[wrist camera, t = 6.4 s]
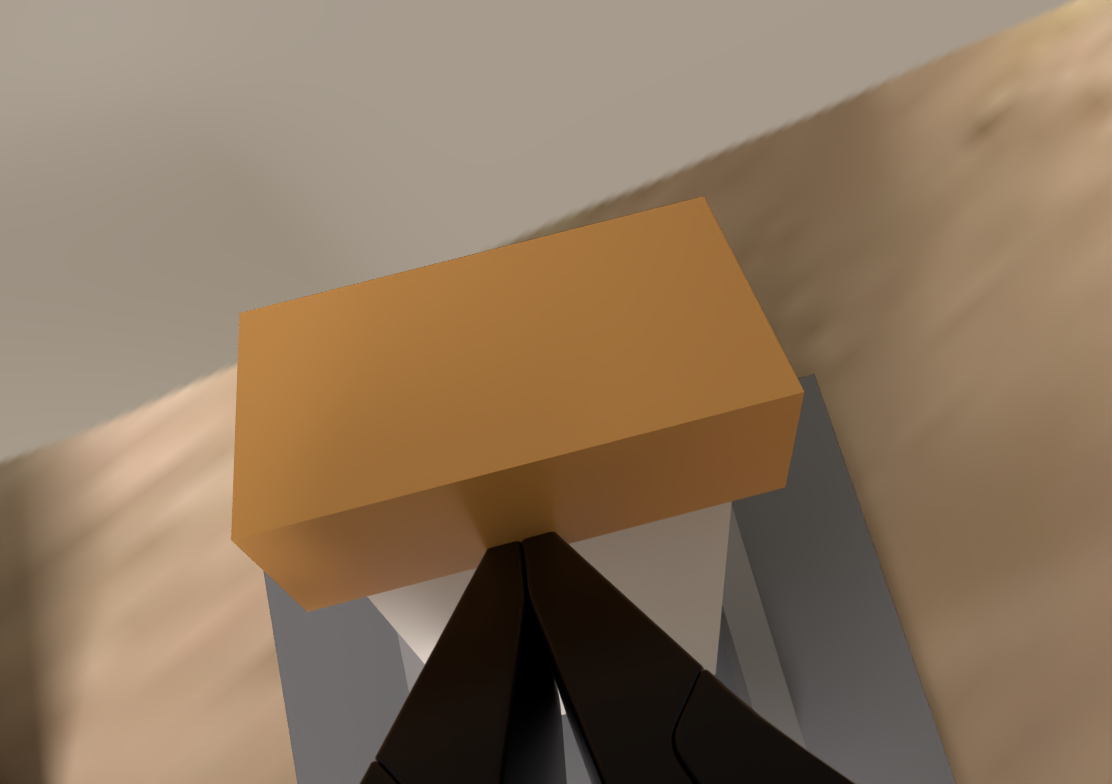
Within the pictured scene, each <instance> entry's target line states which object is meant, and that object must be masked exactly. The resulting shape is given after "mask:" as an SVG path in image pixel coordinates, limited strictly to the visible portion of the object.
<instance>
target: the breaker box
mask: <svg viewBox="0 0 1112 784" xmlns="http://www.w3.org/2000/svg"><path fill="white" fill-rule="evenodd" d="M798 380H799V382H800V384H801V386H802V388H803V390H804V397H803V402H802V407H801V412H800V417H799V422H798V427H797V432H796V437H795V442H794V447H793V451H792V456H791V461H790V466H789V471H788V476H787V481H786V486H785V488H781V489H777V490H773V491H770V492H766V493H762V494H758V495H754V496H750V497H747V498H743V499H739V500H735V501H732V504H731V515H730V525H729V536H728V547H727V558H726V568H725V579H724V590H723V601H722V611H721V622H720V633H719V643H718V654H717V665H716V674H715V675H714V676H715V677H716V678H718V679H719V680H720V681H721V682H722V683H723V684H724V685H725V686H726V687H727V688H729V689H730V690H731V691H732V692H733V693H734V694H736V695H737V696H738V697H739V698H740V699H741V700H743V701H744V702H745V703H746V704H747V705H749V706H750V707H751V708H752V709H753V710H755V711H756V712H757V713H758V714H759V715H760V716H762V717H763V718H764V719H765V720H767V721H768V722H770V723H771V724H772V725H774V726H775V727H776V728H778V729H779V730H780V731H782V732H783V733H784V734H786V735H787V736H789V737H790V738H791V739H793V740H794V741H795V742H797V743H798V744H799V745H801V746H802V747H804V748H805V749H806V750H808V751H809V752H811V753H812V754H814V755H815V756H816V757H818V758H819V759H821V760H822V761H824V762H825V763H827V764H828V765H829V766H831V767H832V768H834V769H835V770H837V771H838V772H840V773H841V774H842V775H844V776H845V777H847V778H848V779H850V780H851V781H853V782H854V783H855V784H956V782H955V779H954V777H953V774H952V771H951V768H950V765H949V762H948V759H947V756H946V753H945V751H944V748H943V745H942V742H941V739H940V736H939V733H938V730H937V727H936V725H935V722H934V719H933V716H932V713H931V710H930V707H929V704H928V701H927V699H926V696H925V693H924V690H923V687H922V684H921V681H920V678H919V675H918V672H917V670H916V667H915V664H914V661H913V658H912V655H911V652H910V649H909V646H908V644H907V641H906V638H905V635H904V632H903V629H902V626H901V623H900V620H899V618H898V615H897V612H896V609H895V606H894V603H893V600H892V597H891V594H890V591H889V589H888V586H887V583H886V580H885V577H884V574H883V571H882V568H881V565H880V563H879V560H878V557H877V554H876V551H875V548H874V545H873V542H872V539H871V537H870V534H869V531H868V528H867V525H866V522H865V519H864V516H863V513H862V510H861V508H860V505H859V502H858V499H857V496H856V493H855V490H854V487H853V484H852V482H851V479H850V476H849V473H848V470H847V467H846V464H845V461H844V458H843V456H842V453H841V450H840V447H839V444H838V441H837V438H836V435H835V432H834V429H833V427H832V424H831V421H830V418H829V415H828V412H827V409H826V406H825V403H824V401H823V398H822V395H821V392H820V389H819V386H818V383H817V380H816V377H815V375H814V374H813V375H809V376H805V377H801V378H798ZM264 577H265V583H266V590H267V596H268V602H269V608H270V615H271V621H272V627H273V633H274V640H275V646H276V652H277V658H278V665H279V671H280V677H281V683H282V689H283V696H284V702H285V708H286V714H287V721H288V727H289V733H290V739H291V746H292V752H293V758H294V764H295V771H296V777H297V783H298V784H359V783H360V782H361V780H362V778H363V776H364V774H365V772H366V770H367V769H368V767H369V765H370V763H371V762H373V761H376V760H375V756H376V754H377V752H378V750H379V749H380V747H381V745H382V743H383V741H384V739H385V737H386V736H387V734H388V732H389V730H390V728H391V726H392V724H393V723H394V721H395V719H396V717H397V715H398V713H399V711H400V710H401V708H402V706H403V704H404V702H405V700H406V698H407V697H408V695H409V693H410V691H411V689H412V687H413V686H414V684H415V682H416V680H417V678H418V676H419V674H420V673H421V671H422V669H423V667H424V665H425V664H424V663H423V662H422V660H421V659H420V658H419V657H418V656H417V655H416V653H415V652H414V651H413V650H412V649H411V647H410V646H409V645H408V644H407V643H406V642H405V640H404V639H403V638H402V637H401V636H400V635H399V633H398V632H397V631H396V630H395V629H394V628H393V626H392V625H391V624H390V623H389V622H388V620H387V619H386V618H385V617H384V616H383V615H382V613H381V612H380V611H379V610H378V609H377V608H376V606H375V605H374V604H373V603H372V602H371V601H370V599H369V598H368V597H363V598H359V599H355V600H352V601H348V602H344V603H340V604H336V605H332V606H329V607H325V608H321V609H317V610H313V611H309V612H307V611H306V610H305V609H304V608H302V607H301V606H300V605H299V604H298V603H297V602H296V601H295V600H294V599H293V598H292V597H291V596H290V595H289V594H288V593H287V592H286V591H285V590H283V589H282V588H281V587H280V586H279V585H278V584H277V583H276V582H275V581H274V580H273V579H272V578H271V577H270V576H269V575H268V574H267V573H266V572H265V571H264ZM562 725H563V739H564V752H565V765H566V779H567V784H591V781H590V778H589V776H588V773H587V770H586V767H585V765H584V762H583V759H582V756H581V754H580V751H579V748H578V745H577V743H576V740H575V737H574V735H573V732H572V729H571V726H570V724H569V721H568V718H567V715H566V714H564V715H562Z"/></svg>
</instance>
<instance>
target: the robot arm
mask: <svg viewBox="0 0 1112 784" xmlns="http://www.w3.org/2000/svg"><path fill="white" fill-rule="evenodd" d="M558 691H559V693H558ZM559 694H560V697H561V700H562V703H563V706H564V709H565V712H566V715H567V718H568V721H569V724H570V726H571V729H572V732H573V735H574V737H575V740H576V743H577V745H578V748H579V751H580V754H581V756H582V759H583V762H584V765H585V767H586V770H587V773H588V776H589V778H590V781H591V784H855V783H854V782H853V781H851V780H850V779H848V778H847V777H845V776H844V775H842V774H841V773H840V772H838V771H837V770H835V769H834V768H832V767H831V766H829V765H828V764H827V763H825V762H824V761H822V760H821V759H819V758H818V757H816V756H815V755H814V754H812V753H811V752H809V751H808V750H806V749H805V748H804V747H802V746H801V745H799V744H798V743H797V742H795V741H794V740H793V739H791V738H790V737H789V736H787V735H786V734H784V733H783V732H782V731H780V730H779V729H778V728H776V727H775V726H774V725H772V724H771V723H770V722H768V721H767V720H765V719H764V718H763V717H762V716H760V715H759V714H758V713H757V712H756V711H755V710H753V709H752V708H751V707H750V706H749V705H747V704H746V703H745V702H744V701H743V700H741V699H740V698H739V697H738V696H737V695H736V694H734V693H733V692H732V691H731V690H730V689H729V688H727V687H726V686H725V685H724V684H723V683H722V682H721V681H720V680H719V679H718V678H716V677H715V676H714V675H713V674H712V673H711V672H710V671H709V670H704V667H703V666H702V665H701V664H700V663H699V662H698V661H696V660H695V659H694V658H693V657H692V656H691V655H690V654H689V653H688V652H687V651H686V650H684V649H683V648H682V647H681V646H680V645H679V644H678V643H677V642H676V641H675V640H673V639H672V638H671V637H670V636H669V635H668V634H667V633H666V632H665V631H664V630H662V629H661V628H660V627H659V626H658V625H657V624H656V623H655V622H654V621H653V620H651V619H650V618H649V617H648V616H647V615H646V614H645V613H644V612H643V611H642V610H640V609H639V608H638V607H637V606H636V605H635V604H634V603H633V602H632V601H631V600H629V599H628V598H627V597H626V596H625V595H624V594H623V593H622V592H621V591H620V590H619V589H617V588H616V587H615V586H614V585H613V584H612V583H611V582H610V581H609V580H608V579H606V578H605V577H604V576H603V575H602V574H601V573H600V572H599V571H598V570H597V569H595V568H594V567H593V566H592V565H591V564H590V563H589V562H588V561H587V560H586V559H584V558H583V557H582V556H581V555H580V554H579V553H578V552H577V551H576V550H575V549H573V548H572V547H571V546H570V545H569V544H568V543H567V542H566V541H565V540H564V539H562V538H561V537H560V536H559V535H558V534H557V533H556V532H548V533H544V534H540V535H537V536H533V537H529V538H526V539H524V540H523V541H522V544H521V543H520V542H518V541H514V542H510V543H507V544H503V545H499V546H495V547H491V548H488V549H487V550H486V552H485V554H484V556H483V558H482V559H481V561H480V563H479V565H478V567H477V569H476V571H475V572H474V574H473V576H472V578H471V580H470V582H469V584H468V585H467V587H466V589H465V591H464V593H463V595H462V597H461V598H460V600H459V602H458V604H457V606H456V608H455V609H454V611H453V613H452V615H451V617H450V619H449V621H448V622H447V624H446V626H445V628H444V630H443V632H442V634H441V635H440V637H439V639H438V641H437V643H436V645H435V647H434V648H433V650H432V652H431V654H430V656H429V658H428V660H427V661H426V663H425V665H424V667H423V669H422V671H421V673H420V674H419V676H418V678H417V680H416V682H415V684H414V686H413V687H412V689H411V691H410V693H409V695H408V697H407V698H406V700H405V702H404V704H403V706H402V708H401V710H400V711H399V713H398V715H397V717H396V719H395V721H394V723H393V724H392V726H391V728H390V730H389V732H388V734H387V736H386V737H385V739H384V741H383V743H382V745H381V747H380V749H379V750H378V752H377V754H376V756H375V760H376V761H373V762H371V763H370V765H369V767H368V769H367V770H366V772H365V774H364V776H363V778H362V780H361V782H360V783H359V784H567V779H566V765H565V752H564V739H563V725H562V714H561V705H560V698H559Z"/></svg>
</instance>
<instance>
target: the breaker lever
mask: <svg viewBox="0 0 1112 784" xmlns="http://www.w3.org/2000/svg"><path fill="white" fill-rule="evenodd" d="M803 397H804V390H803V388H802V386H801V384H800V382H799V380H798V378H797V377H796V375H795V373H794V371H793V369H792V367H791V365H790V363H789V361H788V359H787V357H786V355H785V353H784V351H783V349H782V347H781V345H780V343H779V342H778V340H777V338H776V336H775V334H774V332H773V330H772V328H771V326H770V324H769V322H768V320H767V318H766V316H765V314H764V312H763V310H762V309H761V307H760V305H759V303H758V301H757V299H756V297H755V295H754V293H753V291H752V289H751V287H750V285H749V283H748V281H747V279H746V277H745V275H744V274H743V272H742V270H741V268H740V266H739V264H738V262H737V260H736V258H735V256H734V254H733V252H732V250H731V248H730V246H729V244H728V242H727V240H726V239H725V237H724V235H723V233H722V231H721V229H720V227H719V225H718V223H717V221H716V219H715V217H714V215H713V213H712V211H711V209H710V207H709V206H708V204H707V202H706V200H705V198H704V196H702V197H698V198H694V199H690V200H686V201H682V202H678V203H674V204H670V205H667V206H663V207H659V208H655V209H651V210H647V211H643V212H639V213H635V214H631V215H627V216H623V217H619V218H615V219H611V220H607V221H603V222H599V223H595V224H591V225H587V226H583V227H579V228H575V229H571V230H567V231H563V232H559V233H556V234H552V235H548V236H544V237H540V238H536V239H532V240H528V241H524V242H520V243H516V244H512V245H508V246H504V247H500V248H496V249H492V250H488V251H484V252H480V253H476V254H472V255H468V256H464V257H460V258H457V259H452V260H448V261H444V262H441V263H437V264H433V265H429V266H425V267H421V268H417V269H413V270H409V271H405V272H401V273H397V274H393V275H389V276H385V277H381V278H377V279H373V280H369V281H365V282H361V283H357V284H353V285H349V286H345V287H341V288H337V289H334V290H330V291H326V292H322V293H318V294H314V295H310V296H306V297H302V298H298V299H294V300H290V301H286V302H282V303H278V304H274V305H270V306H267V307H262V308H258V309H254V310H250V311H246V312H243V313H240V318H239V344H238V371H237V399H236V426H235V453H234V480H233V508H232V535H231V540H232V541H233V542H234V543H235V544H236V545H237V546H238V547H239V548H240V549H241V550H242V551H243V552H244V553H246V554H247V555H248V556H249V557H250V558H251V559H252V560H253V561H254V562H255V563H256V564H257V565H258V566H259V567H260V568H261V569H262V570H263V571H265V572H266V573H267V574H268V575H269V576H270V577H271V578H272V579H273V580H274V581H275V582H276V583H277V584H278V585H279V586H280V587H281V588H282V589H283V590H285V591H286V592H287V593H288V594H289V595H290V596H291V597H292V598H293V599H294V600H295V601H296V602H297V603H298V604H299V605H300V606H301V607H302V608H304V609H305V610H306V611H307V612H309V611H313V610H317V609H321V608H325V607H329V606H332V605H336V604H340V603H344V602H348V601H352V600H355V599H359V598H363V597H368V598H369V599H370V601H371V602H372V603H373V604H374V605H375V606H376V608H377V609H378V610H379V611H380V612H381V613H382V615H383V616H384V617H385V618H386V619H387V620H388V622H389V623H390V624H391V625H392V626H393V628H394V629H395V630H396V631H397V632H398V633H399V635H400V636H401V637H402V638H403V639H404V640H405V642H406V643H407V644H408V645H409V646H410V647H411V649H412V650H413V651H414V652H415V653H416V655H417V656H418V657H419V658H420V659H421V660H422V662H423V663H424V664H425V663H426V661H427V660H428V658H429V656H430V654H431V652H432V650H433V648H434V647H435V645H436V643H437V641H438V639H439V637H440V635H441V634H442V632H443V630H444V628H445V626H446V624H447V622H448V621H449V619H450V617H451V615H452V613H453V611H454V609H455V608H456V606H457V604H458V602H459V600H460V598H461V597H462V595H463V593H464V591H465V589H466V587H467V585H468V584H469V582H470V580H471V578H472V576H473V574H474V572H475V571H476V569H477V567H478V565H479V563H480V561H481V559H482V558H483V556H484V554H485V552H486V550H487V549H488V548H491V547H495V546H499V545H503V544H507V543H510V542H514V541H518V542H520V543H521V544H522V541H523V540H524V539H526V538H529V537H533V536H537V535H540V534H544V533H548V532H556V533H557V534H558V535H559V536H560V537H561V538H562V539H564V540H565V541H566V542H567V543H568V544H569V545H570V546H571V547H572V548H573V549H575V550H576V551H577V552H578V553H579V554H580V555H581V556H582V557H583V558H584V559H586V560H587V561H588V562H589V563H590V564H591V565H592V566H593V567H594V568H595V569H597V570H598V571H599V572H600V573H601V574H602V575H603V576H604V577H605V578H606V579H608V580H609V581H610V582H611V583H612V584H613V585H614V586H615V587H616V588H617V589H619V590H620V591H621V592H622V593H623V594H624V595H625V596H626V597H627V598H628V599H629V600H631V601H632V602H633V603H634V604H635V605H636V606H637V607H638V608H639V609H640V610H642V611H643V612H644V613H645V614H646V615H647V616H648V617H649V618H650V619H651V620H653V621H654V622H655V623H656V624H657V625H658V626H659V627H660V628H661V629H662V630H664V631H665V632H666V633H667V634H668V635H669V636H670V637H671V638H672V639H673V640H675V641H676V642H677V643H678V644H679V645H680V646H681V647H682V648H683V649H684V650H686V651H687V652H688V653H689V654H690V655H691V656H692V657H693V658H694V659H695V660H696V661H698V662H699V663H700V664H701V665H702V666H703V667H704V670H709V671H710V672H711V673H712V674H713V675H715V674H716V665H717V654H718V643H719V633H720V622H721V611H722V601H723V590H724V579H725V568H726V558H727V547H728V536H729V525H730V515H731V504H732V501H735V500H739V499H743V498H747V497H750V496H754V495H758V494H762V493H766V492H770V491H773V490H777V489H781V488H785V486H786V481H787V476H788V471H789V466H790V461H791V456H792V451H793V447H794V442H795V437H796V432H797V427H798V422H799V417H800V412H801V407H802V402H803ZM558 693H559V691H558ZM559 698H560V705H561V714H562V715H564V714H566V712H565V709H564V706H563V703H562V700H561V697H560V694H559Z"/></svg>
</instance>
